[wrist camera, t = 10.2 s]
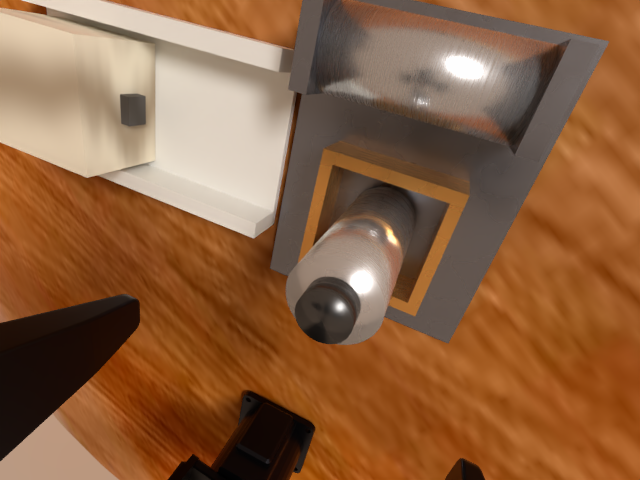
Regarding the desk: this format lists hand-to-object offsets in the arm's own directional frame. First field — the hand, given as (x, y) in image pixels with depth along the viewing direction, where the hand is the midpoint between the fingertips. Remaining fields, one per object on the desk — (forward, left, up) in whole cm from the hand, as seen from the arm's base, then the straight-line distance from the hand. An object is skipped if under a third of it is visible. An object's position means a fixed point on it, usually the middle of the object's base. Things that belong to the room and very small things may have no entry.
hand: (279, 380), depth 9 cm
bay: (+2, +15, -13) cm, 20 cm away
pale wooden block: (+2, +19, -12) cm, 23 cm away
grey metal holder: (+2, 0, -13) cm, 13 cm away
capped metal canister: (0, 0, -12) cm, 12 cm away
